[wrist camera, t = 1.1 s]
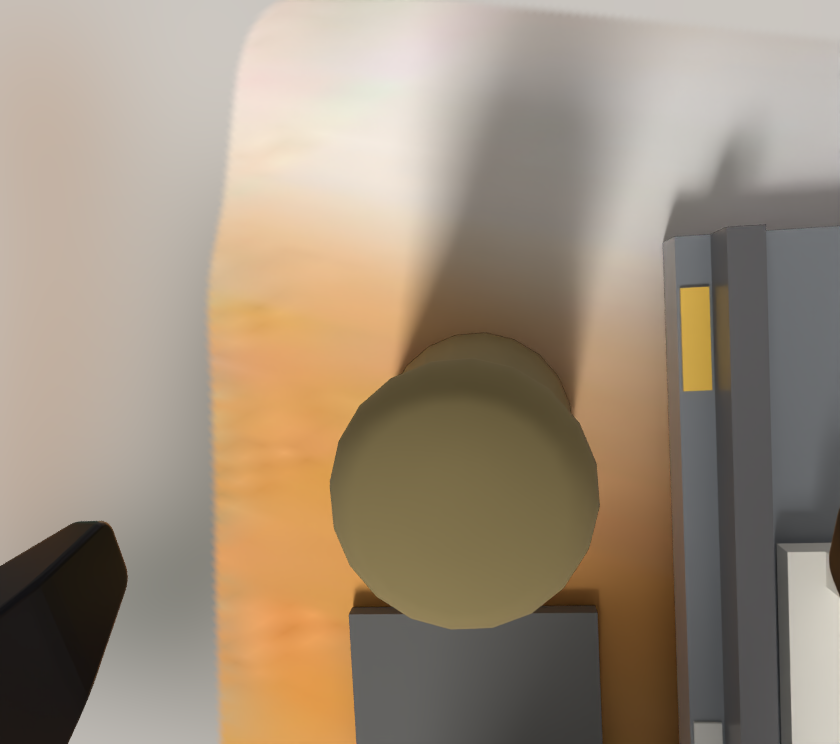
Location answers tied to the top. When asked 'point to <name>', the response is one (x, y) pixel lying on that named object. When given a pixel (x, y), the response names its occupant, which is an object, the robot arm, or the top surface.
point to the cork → (466, 485)
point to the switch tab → (808, 645)
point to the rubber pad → (477, 679)
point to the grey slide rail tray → (746, 456)
